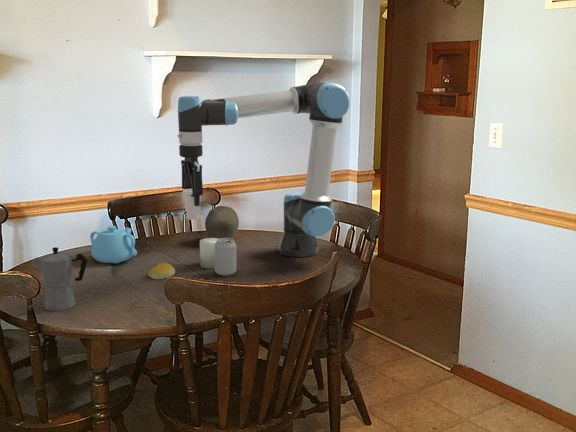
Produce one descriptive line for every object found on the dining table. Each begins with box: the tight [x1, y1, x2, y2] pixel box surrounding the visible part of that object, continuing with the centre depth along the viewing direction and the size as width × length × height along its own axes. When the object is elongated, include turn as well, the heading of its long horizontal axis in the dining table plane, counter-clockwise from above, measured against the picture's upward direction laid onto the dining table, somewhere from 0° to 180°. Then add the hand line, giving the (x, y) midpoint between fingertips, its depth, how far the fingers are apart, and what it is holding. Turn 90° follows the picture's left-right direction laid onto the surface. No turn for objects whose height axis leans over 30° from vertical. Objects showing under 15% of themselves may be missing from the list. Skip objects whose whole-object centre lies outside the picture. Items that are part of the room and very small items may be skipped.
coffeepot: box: [32, 247, 89, 312], centre depth 186 cm, size 15×9×18 cm, turn 101°
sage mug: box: [199, 237, 218, 269], centre depth 226 cm, size 10×8×9 cm
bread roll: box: [147, 262, 176, 280], centre depth 214 cm, size 8×9×4 cm
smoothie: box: [182, 189, 202, 221], centre depth 210 cm, size 6×6×14 cm
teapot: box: [89, 225, 138, 265], centre depth 233 cm, size 20×20×13 cm
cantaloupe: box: [204, 205, 240, 239], centre depth 254 cm, size 14×14×15 cm
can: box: [214, 238, 237, 277], centre depth 217 cm, size 8×8×12 cm
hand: (192, 212), depth 211 cm, fingers closed on smoothie, 6 cm apart
